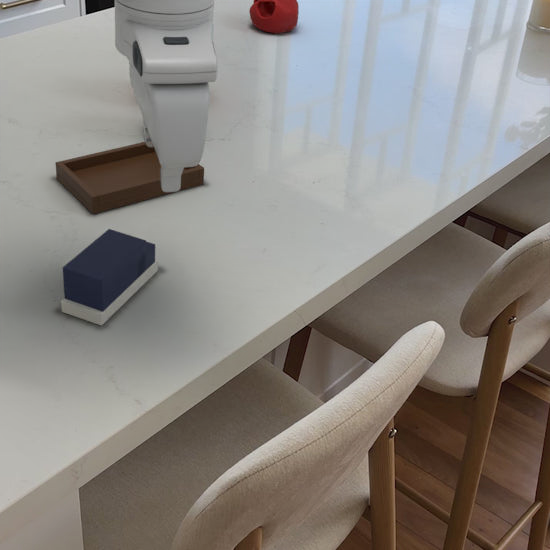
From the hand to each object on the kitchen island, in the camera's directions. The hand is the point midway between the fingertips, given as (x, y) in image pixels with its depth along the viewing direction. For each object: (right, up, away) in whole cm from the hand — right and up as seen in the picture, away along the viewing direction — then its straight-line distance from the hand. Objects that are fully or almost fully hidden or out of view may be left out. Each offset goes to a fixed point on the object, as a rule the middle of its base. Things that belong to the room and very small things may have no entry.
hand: (161, 165), depth 89 cm
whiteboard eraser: (-7, -13, +10) cm, 18 cm away
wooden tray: (-8, +2, +31) cm, 32 cm away
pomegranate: (+11, +38, +87) cm, 96 cm away
